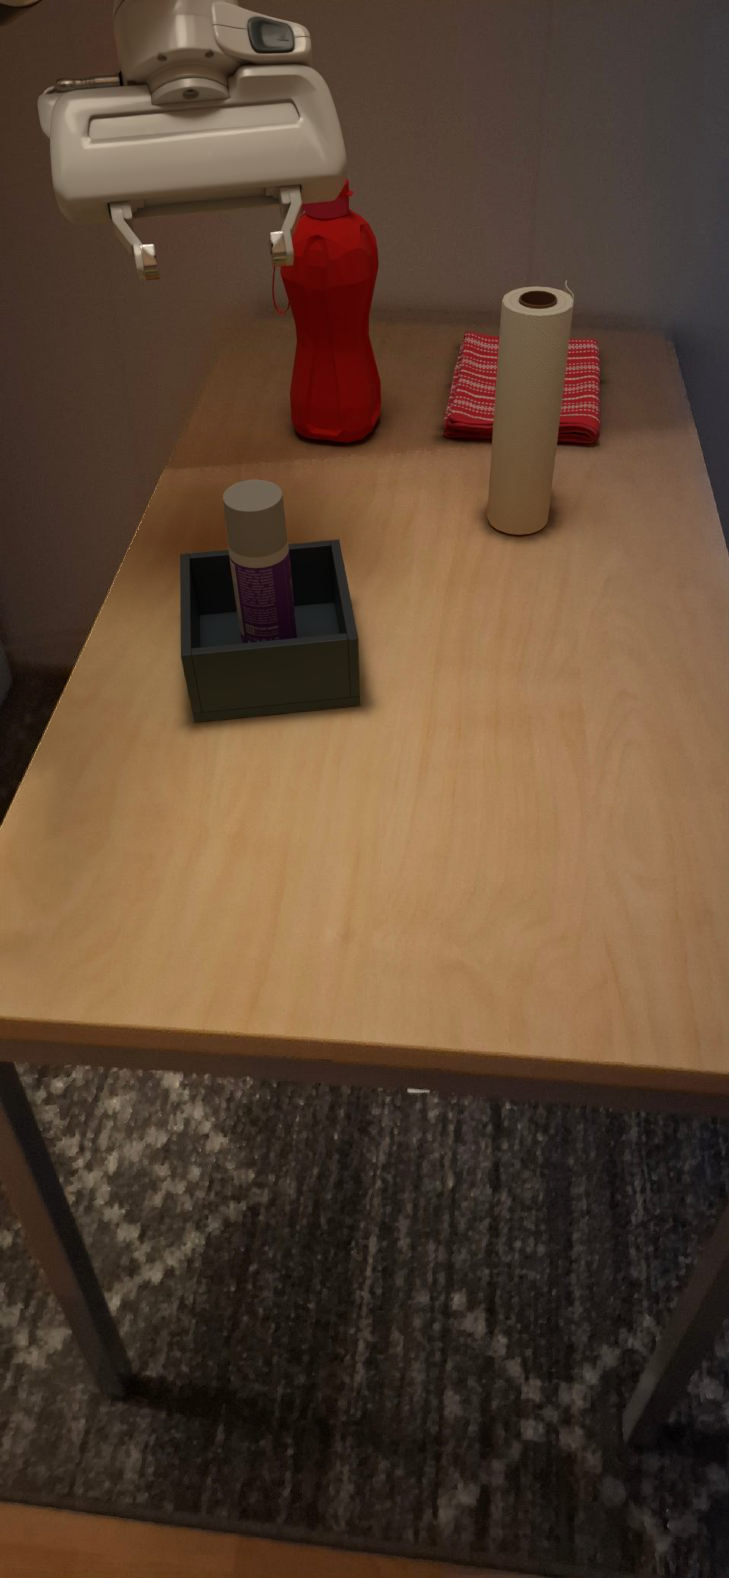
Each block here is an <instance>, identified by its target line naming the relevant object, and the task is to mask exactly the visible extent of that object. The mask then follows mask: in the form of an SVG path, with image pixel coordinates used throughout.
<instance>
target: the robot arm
mask: <svg viewBox="0 0 729 1578" xmlns="http://www.w3.org/2000/svg"><path fill="white" fill-rule="evenodd" d="M42 1H43V0H0V28H1V27H5V26H9V25H11V24H12V23H14V22H15V21H17V20H18V19H19V18H20V17H22V16H23V15H24V14H26V13H27V12H29V11H30V10H32V9H33V8H34V7H36V6H38V4H39V3H41V2H42ZM113 1H114V2H113V9H112V25H113V26H112V27H113V34H114V41H115V46H116V52H117V59H118V65H119V69H120V70H119V71H117V72H106V73H105V72H104V73H97V74H93V75H92V74H91V75H87V76H79V77H78V76H77V77H75V76H72V75H69V76H62V77H58V78H56V79H54V84H51V85H49V86H47V87H46V88H45V89H43V91H42V92H41V93H40V94H39V96H38V98H37V103H36V112H37V118H38V123H39V129H40V132H41V134H42V137H43V138H44V139H45V141H46V142H47V143H48V144H49V152H50V153H49V155H50V157H49V158H50V170H51V178H52V179H51V181H52V187H53V192H54V196H55V200H56V203H57V206H58V209H59V211H60V213H61V214H62V215H63V216H64V217H65V218H66V219H67V220H68V221H69V222H70V223H71V224H72V225H74V226H88V225H90V226H91V225H100V224H108V223H110V224H111V223H112V225H113V228H114V233H115V237H116V238H117V239H118V241H119V242H120V243H121V245H122V246H123V248H125V249H126V250H127V252H128V253H129V254H130V255H131V257H132V258H133V259H134V261H135V262H134V263H135V268H136V273H137V277H138V281H139V282H143V281H154V280H155V281H156V280H160V279H161V278H160V277H161V276H160V271H159V265H158V264H159V263H158V259H157V253H156V248H155V243H144V244H143V243H142V242H141V240H140V239H139V238H138V236H137V235H136V226H135V221H141V220H152V219H161V218H172V217H181V216H193V215H203V214H212V213H213V214H214V213H223V212H235V211H244V210H246V211H247V210H255V209H263V208H264V209H265V208H276V207H277V208H279V213H280V219H282V220H284V221H283V224H282V226H281V229H280V230H276V231H270V232H269V237H268V238H269V240H268V247H269V253H270V255H271V266H272V268H274V267H275V268H279V267H281V266H292V265H293V262H294V253H293V245H292V238H293V235H294V233H295V230H296V228H297V225H298V223H299V220H300V216H301V215H302V214H301V207H302V204H308V203H319V202H330V201H334V200H335V199H336V198H337V197H338V195H339V194H340V192H341V190H342V189H343V187H344V184H345V180H346V178H347V175H348V173H347V171H348V158H347V157H348V156H347V150H346V146H345V140H344V136H343V131H342V126H341V122H340V119H339V115H338V111H337V109H336V105H335V102H334V98H333V96H332V93H331V90H330V88H329V86H328V84H327V82H326V81H325V78H324V77H323V76H322V75H321V73H319V72H318V71H317V70H316V69H314V67H313V66H314V65H313V64H314V63H313V59H314V58H313V47H312V38H311V34H310V32H309V30H308V29H307V27H306V26H304V25H303V24H300V23H298V22H293V21H290V20H286V19H281V18H277V17H273V16H270V15H267V14H262V13H259V12H256V11H253V10H250V9H247V8H244V7H242V6H240V5H239V2H238V0H113Z"/></svg>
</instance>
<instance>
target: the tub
mask: <svg viewBox="0 0 729 1578" xmlns="http://www.w3.org/2000/svg"><path fill="white" fill-rule="evenodd" d="M288 545H289V554H290V565H291V576H292V588H293V599H294V610H295V621H296V632H297V638H293V639H283V640H272V641H262V642H252V643H242V642H241V635H240V628H239V621H238V614H237V607H236V600H235V593H234V586H233V579H232V572H231V565H230V558H229V549H228V548H227V549H219V550H209V551H208V550H207V551H198V552H197V551H195V552H190V553H189V552H185V553H180V554H179V559H180V560H179V567H180V568H179V582H180V585H179V586H180V588H179V589H180V595H179V597H180V598H179V599H180V603H179V604H180V605H179V606H180V609H179V610H180V611H179V612H180V660H181V665H182V670H183V674H184V681H185V683H186V684H185V685H186V690H187V694H188V695H187V696H188V700H189V704H190V711H191V715H192V720H193V722H194V723H201V722H210V721H211V722H212V721H221V720H222V721H223V720H232V719H242V718H251V717H260V716H271V715H280V714H291V713H299V712H309V711H310V712H311V711H318V710H319V711H320V710H327V709H328V710H329V709H339V708H349V707H358V706H359V707H360V706H361V705H362V703H361V702H362V701H361V676H360V673H361V671H360V649H359V635H358V630H357V624H356V620H355V619H356V618H355V613H354V608H353V604H352V599H351V593H350V588H349V582H348V578H347V577H348V576H347V573H346V572H347V571H346V567H345V561H344V556H343V551H342V547H341V541H340V539H330V540H328V539H327V540H317V541H316V540H315V541H307V542H294V543H288Z"/></svg>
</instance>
